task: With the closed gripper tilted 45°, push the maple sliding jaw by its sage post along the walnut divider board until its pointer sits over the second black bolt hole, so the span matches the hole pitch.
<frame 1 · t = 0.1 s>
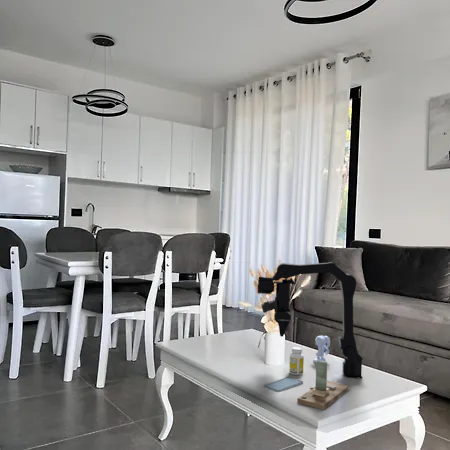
hand: (281, 333, 183), 15 cm above the table, tool pointing down, fingers open, 9 cm apart
smartphone: (283, 386, 166), on the table
pitch board: (325, 395, 157), on the table
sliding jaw: (318, 377, 154), point 7 cm above the table, slide at 0.0 cm
supplement bottle: (296, 373, 181), on the table
toy figurine: (320, 362, 197), on the table
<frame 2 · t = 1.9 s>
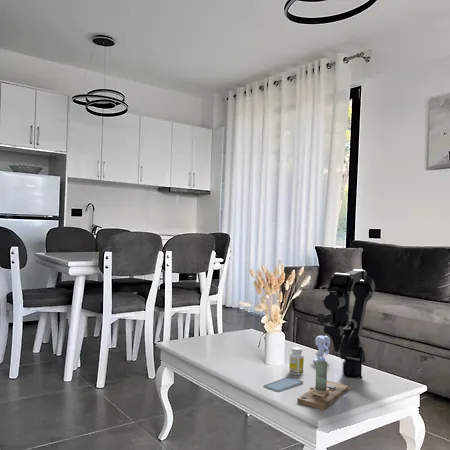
hand: (339, 350, 168), 13 cm above the table, tool pointing down, fingers open, 6 cm apart
nothing on the table moved.
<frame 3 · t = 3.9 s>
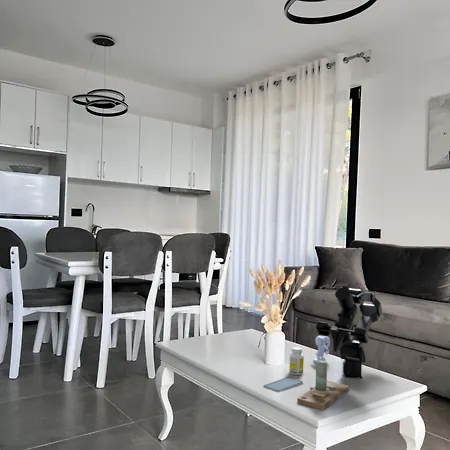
hand: (335, 351, 164), 13 cm above the table, tool tilted 45°, fingers closed
nothing on the table moved.
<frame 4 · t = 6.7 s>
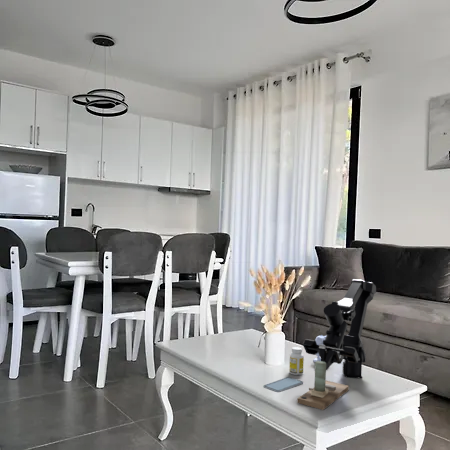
hand: (322, 371, 155), 9 cm above the table, tool tilted 45°, fingers closed, pressing on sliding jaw
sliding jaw: (317, 377, 154), point 7 cm above the table, slide at 0.9 cm, touching gripper
everything else where it was.
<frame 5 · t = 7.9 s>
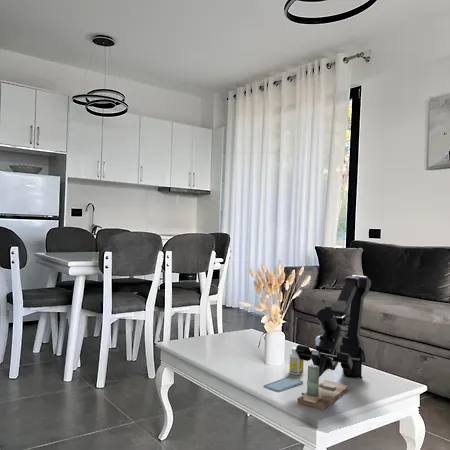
hand: (315, 378, 150), 8 cm above the table, tool tilted 45°, fingers closed
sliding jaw: (310, 382, 149), point 7 cm above the table, slide at 6.8 cm
everything else where it was.
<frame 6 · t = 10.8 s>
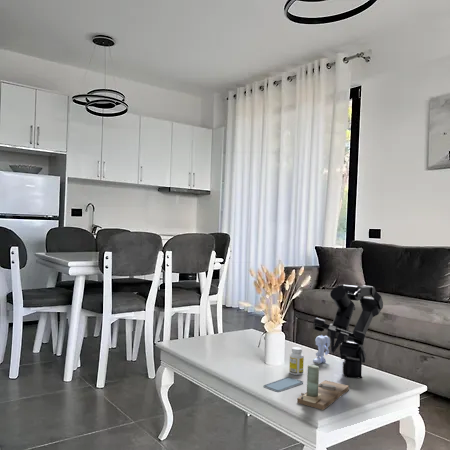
hand: (332, 352, 164), 13 cm above the table, tool tilted 40°, fingers closed
nothing on the table moved.
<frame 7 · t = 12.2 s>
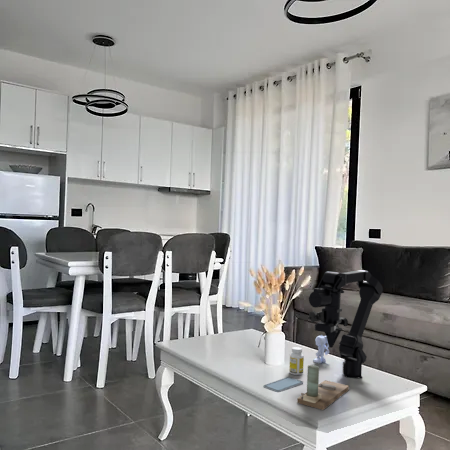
hand: (330, 347, 171), 13 cm above the table, tool pointing down, fingers closed
nothing on the table moved.
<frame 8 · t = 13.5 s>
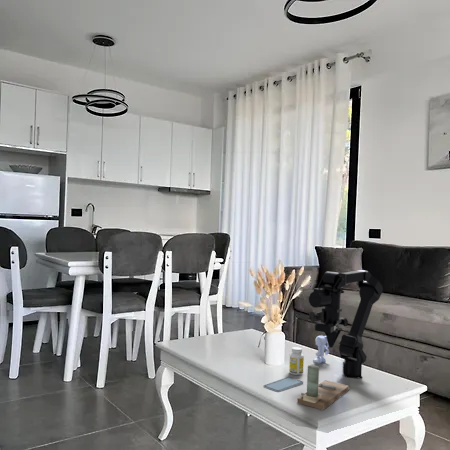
hand: (330, 347, 171), 13 cm above the table, tool pointing down, fingers closed
nothing on the table moved.
at the end: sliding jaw slide at 7.0 cm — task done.
